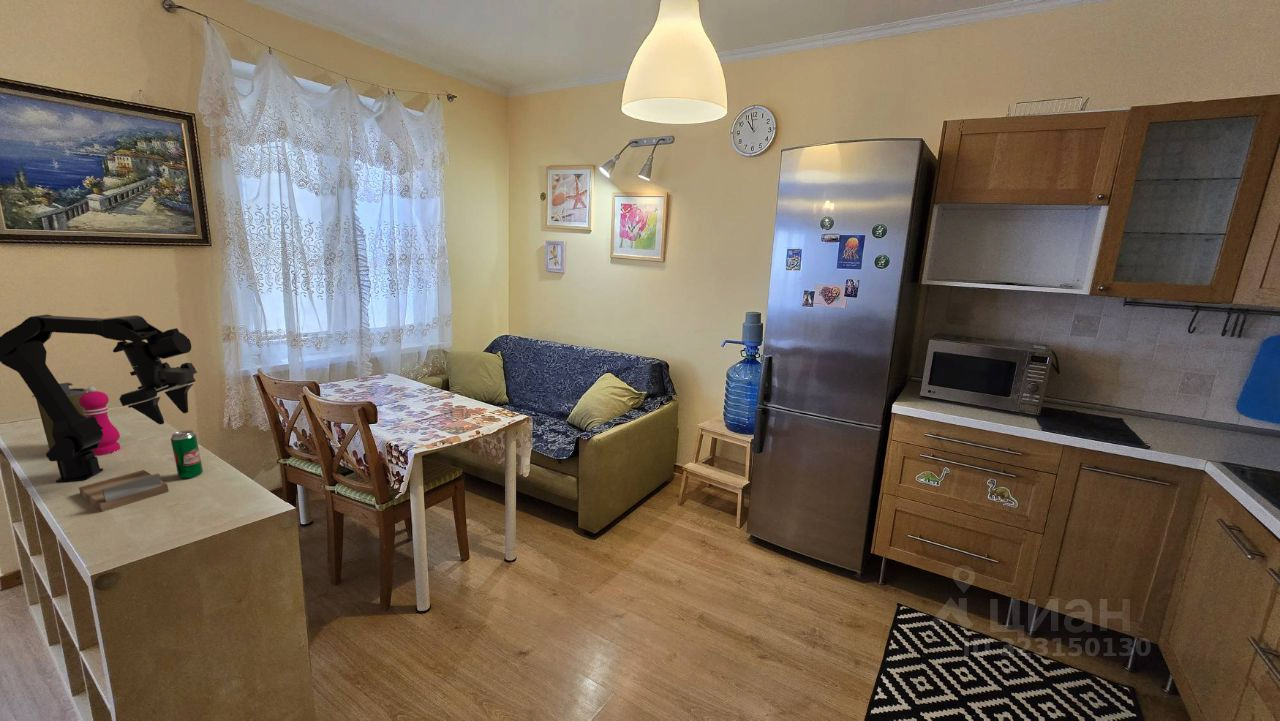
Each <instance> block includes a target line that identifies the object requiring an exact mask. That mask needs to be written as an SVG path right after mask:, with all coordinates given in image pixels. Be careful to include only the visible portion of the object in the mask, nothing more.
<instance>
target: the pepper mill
mask: <svg viewBox="0 0 1280 721" xmlns="http://www.w3.org/2000/svg"><path fill="white" fill-rule="evenodd" d="M86 389H87V393H85V394H83V395H82V396H81V397H80V398H79V404H80V406H82V407H83V408H85V409H84V412H85V413H84V414H85V415H87V417H91V416H94V417H95V418H96V420H97V422H98V424H99V425H100V426H101V427H102V428H103V429H102V432H103V436H102V439H101V441H100V442H99V447H98V448H97V449H94V450H92V451H94V454H95V456H103V455H102V454H105V455H109V454H112V453H111V452H113V453H115V452H114V451H116V452H117V450H118V451H120V450H121V446H120V445H121V444H120V442H117V441H118V440H119V439H120V437H121V434H120V432H119V430H118V429H117V427H115V426H114V424H113V423H112V422H111V421H110V418H109V415H108V412H109V411H110V410H109V406H107V404H108V403H109V401H110V398H109V396H108V394H106V393H105V392H103V391H98V390H97V389H96V387H95V386H88V387H87V388H86ZM119 449H120V450H119ZM108 453H109V454H108Z"/></svg>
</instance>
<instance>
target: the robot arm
mask: <svg viewBox="0 0 1280 721" xmlns="http://www.w3.org/2000/svg"><path fill="white" fill-rule="evenodd" d="M53 333H59V334H77V335H78V334H80V335H95V336H100V337H101V338H105V339H108V340H113V341H118V342H117V343H116V346H114V347H113V349H112V352H113V353H119V352H124V354H125V356H126V358H127V360H128V362H129V364H130V366H131V368H132V370H133V371H130V372H129V374H130V376H131V377H133V376H135V377H136V378H137V379H138V381H139V383H140V385H139V386H137V389H135V390H131V391H128V392H126V393H123V394H121V395H119V396H120V397H119V401H120V403H121V405H122V407H126V406H127V407H128V408H130V409H134V410H135V411H137V412H139V413H140V414H142V415H144V416H146V417H147V418H149V419H150V420H151V421H153V422H155V423H156V424H158V425H164V424H165V421H164V417H163V414H162V412H161V408H160V407H159V401H160V399H161V396H158V393H160V392H163V391H164V394H165V395H166V396H167V397H168V399H170V400H171V402H172V403H173V404H174V405H175V406H176V407H177V409H178V410H179V411H181V412H182V414H187V413H188V412H189V401H188V400H189V399H188V395H189V393H188V392H189V390H191V388H192V387H193V386H194V383H195V382H196V380H195V377H194V375H195V374H197V373H198V371H197V370H196V368H195V366H194V365H193V363H192V362H184V363H181V364H180V366H176V367H172V366H171V365H170V364H169V363H168V362H167V361H166V362H162V360H161V359H169V358H173V357H176V356H181V355H185V354H189V353H190V351H191V350H192V343H191V340H190V339H189V337H187V336H186V334H184V333H182V332H180V330H179V329H178V328H177V327H176V328H171V329H167V330H164V331H162V330H160V329H159V328H157V327H155V326H154V325H152V324H150V323H148V322H147V320H146V319H144V317H143V316H141V315H123V316H115V317H114V316H113V317H105V318H100V317H81V316H80V317H78V316H67V315H66V316H65V315H51V314H40V315H33V316H29V317H28V318H25V319H24V320H23V321H22V322H21V323H20V324H18V325H17V326H15V327H13V328H11V329H10V330H7V331H6V332H5V333H3V334H2V335H0V363H1V364H2V365H3V366H6V367H8V368H10V369H11V370H13V371H14V372H17V373H18V374H19V375H20V377H21V378H22V380H23V382H24V383H25V385H26V386H27V387H28V389H29V390H30V392H31V393H32V394H33V395H34V396H35V397H36V399H37V400H38V402H39V403H40V405H41V406H42V407H43V409H44V410H45V412H46V413H47V415H48V416H49V418H50V419H51V420H52V422H53V430H52V436H53V438H54V441H55V443H56V444H55V445H54V446H53V447H52V448H51V449H50V450H48V451H47V452H46V453H45V456H46V457H47V459H48V460H49V462H56V463H57V464H56V465H57V468H58V471H59V476H60V478H58V479H56V480H55V482H56V483H63V482H65V483H66V482H75V481H85V480H88V479H90V478H92V477H93V476H95V475H97V474H99V473H101V472H103V471H104V468H100V464H99V460H98V457H97V456H96V455H95V454H94V451H92V450H94V449H97V448H98V447H99V442H100V441H101V439H102V436H103V432H102V429H103V428H102V427H101V426H100V425H99V424H98V422H97V420H96V418H95V417H94V416H91V417H88V418H87V417H85V416H83V415H81V414H79V413H78V411H77V410H76V408H75V407H74V405H73V404H72V402H71V401H70V400H69V398H68V397H67V395H66V394H65V392H64V391H63V389H62V388H61V386H60V385H59V384H60V383H59V382H58V380H57V379H56V377H55V376H54V374H53V373H52V371H51V370H50V368H49V367H48V366H47V364H46V363H47V350H46V346H45V343H46V342H47V341H49V340H50V338H51V337H52V335H53ZM145 340H146V341H147V342H146V341H145ZM128 341H129V342H128ZM157 396H158V397H157ZM35 397H34V398H35ZM36 399H35V400H36ZM37 400H36V401H37Z"/></svg>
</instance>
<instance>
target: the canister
mask: <svg viewBox="0 0 1280 721" xmlns="http://www.w3.org/2000/svg"><path fill="white" fill-rule="evenodd" d="M59 385H60V386H61V388H62V389H63V391H64V392H65V394H66V395H67V397H68V398H69V400H70V401H71V402H72V404H73V405H74V407H75V408H76V410H77V411H78V413H79V414H81V415H83V416H85V417H87V415H85V414H84V413H85V412H84V409H85V408H83V407H82V406H80V404H79V398H80V397H81V396H82V395H83V394H85V393H87V392H88V391H87V388H77V387H75V388H70V386H73V385H74V384H73V383H72V382H62V383H61V382H60V383H59ZM31 397H32V399H35V400H36V403H37V407H38V411H39V414H40V415H39V416H40V419H41V422H42V426H43V430H44V434H45V438H46V441H47V446H48V449H49V450H50V449H51V448H52V447H53V446H54V445H55V444H56V443H55V441H54V438H53V436H52V430H53V422H52V420H51V419H50V418H49V416H48V415H47V413H46V412H45V410H44V409H43V407H42V406H41V405H40V403H39V402H38V400H37V399H36V397H35V396H34V394H33V395H32V396H31ZM32 401H33V403H34V400H32ZM33 405H34V404H33ZM34 407H36V406H35V405H34ZM87 418H88V417H87ZM38 424H39V425H38V426H41V425H40V423H38ZM39 429H40V430H42V429H41V427H39ZM40 432H41V433H42V431H40ZM49 450H48V451H49Z"/></svg>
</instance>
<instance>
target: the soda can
mask: <svg viewBox="0 0 1280 721" xmlns="http://www.w3.org/2000/svg"><path fill="white" fill-rule="evenodd" d="M170 441H171V447H172V452H173V456H174V457H173V458H174V462H175V468H176V473H177V477H178V478H180V479H183V480H186V479H188V478H189V479H193V478H192V477H194V478H196V477H195V476H197V477H199V476H200V475H202V474H203V472H204V470H203V465H202V464H203V463H202V458H201V453H200V448H199V443H198V436H197V434H196V433H195V432H194V430H191V429H190V430H187V429H186V430H181V431H177V432H174V433H172V434H171V438H170ZM198 475H199V476H198Z"/></svg>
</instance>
